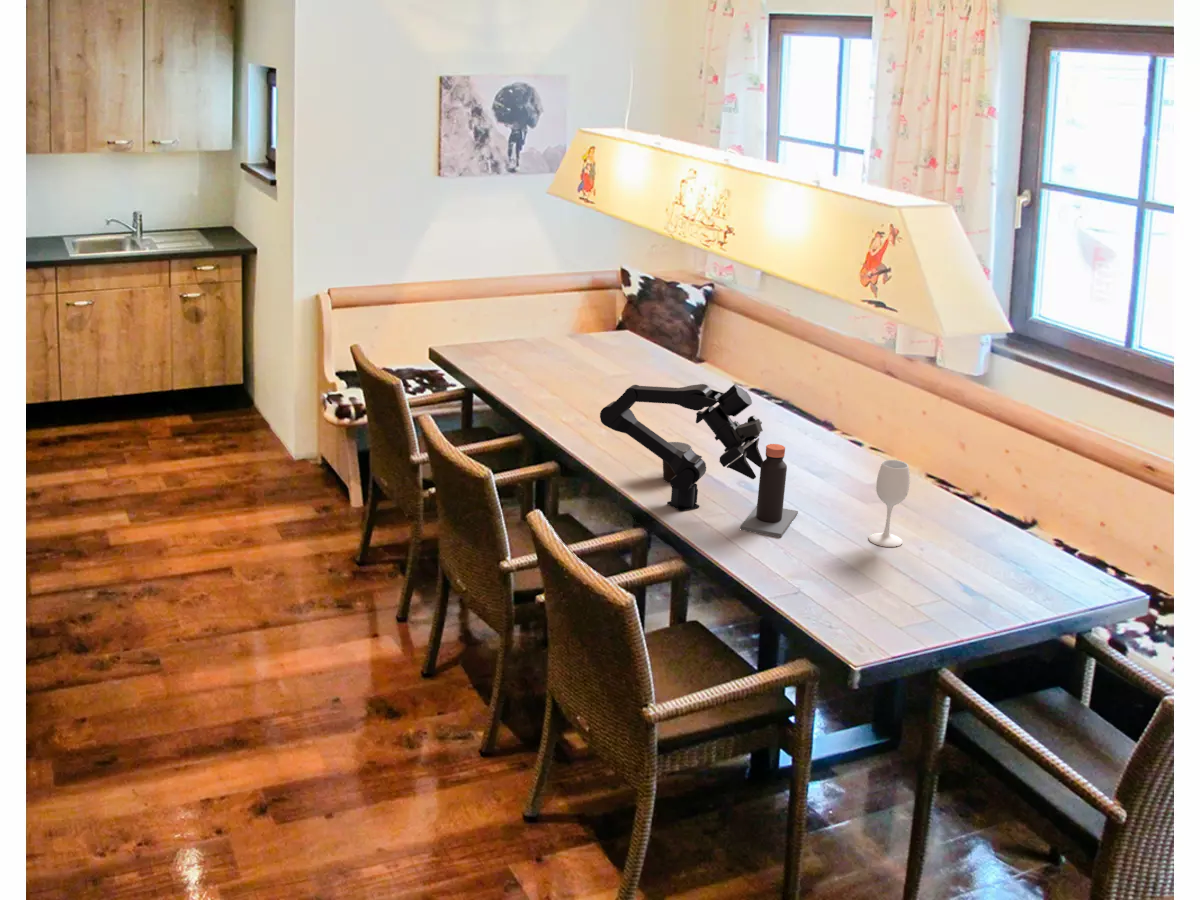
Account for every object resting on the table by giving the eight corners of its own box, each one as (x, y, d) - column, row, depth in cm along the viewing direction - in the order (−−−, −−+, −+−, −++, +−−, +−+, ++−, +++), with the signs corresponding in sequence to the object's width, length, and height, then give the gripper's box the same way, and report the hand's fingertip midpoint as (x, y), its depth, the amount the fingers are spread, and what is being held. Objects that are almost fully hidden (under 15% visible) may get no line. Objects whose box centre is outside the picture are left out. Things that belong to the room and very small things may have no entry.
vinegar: (754, 520, 341) (760, 449, 334) (758, 512, 347) (764, 441, 341) (779, 524, 339) (787, 452, 333) (783, 515, 346) (790, 444, 339)
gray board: (739, 529, 337) (740, 526, 337) (758, 507, 353) (758, 503, 353) (781, 537, 334) (781, 534, 333) (797, 514, 350) (797, 511, 349)
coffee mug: (678, 487, 365) (681, 453, 362) (653, 479, 370) (655, 446, 367) (701, 477, 374) (703, 444, 371) (676, 469, 379) (678, 437, 376)
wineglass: (867, 544, 332) (877, 467, 325) (869, 532, 340) (878, 456, 333) (902, 549, 330) (912, 471, 323) (903, 536, 338) (913, 460, 331)
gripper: (735, 418, 329) (773, 467, 329) (754, 399, 345) (791, 446, 345) (703, 442, 334) (740, 490, 334) (723, 423, 350) (759, 468, 350)
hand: (759, 473), depth 341 cm, fingers open, 9 cm apart
